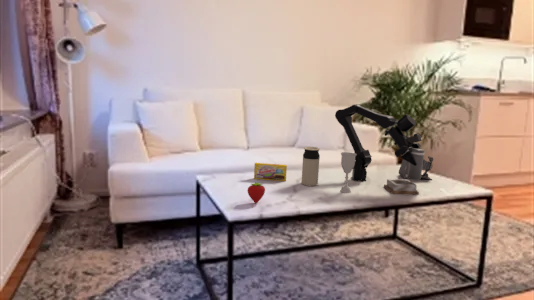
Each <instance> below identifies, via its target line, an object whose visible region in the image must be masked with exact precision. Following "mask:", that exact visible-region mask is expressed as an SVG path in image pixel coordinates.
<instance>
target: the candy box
mask: <svg viewBox="0 0 534 300" xmlns="http://www.w3.org/2000/svg"><path fill="white" fill-rule="evenodd" d="M287 169H288V165H287V164H280V163H278V164H277V163H264V162H254V172H253V174H254V175H253V180H263V181H265V180H267V181H277V182H278V181H279V182H286V181H287V171H288V170H287Z"/></svg>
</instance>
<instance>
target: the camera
mask: <svg viewBox="0 0 534 300" xmlns="http://www.w3.org/2000/svg"><path fill="white" fill-rule="evenodd" d="M414 143H416V142H414ZM427 159H428V161H427V160H426V159H423V166H422V171H425V172H423V174H421V178H423V179H426V180H430V181H433V179H432V178H431V177H430V176H429V174H428V172H429V171H431V170H432V169H433V165H434V164H433V162H434V157H432V156H429V155H428V156H427ZM408 170H409V162H408V161H406V160H404V159H402V161H401V164H400V167H399V170H398V175H400V176H401V178H402V179H403V180H409V178H407V177H408Z"/></svg>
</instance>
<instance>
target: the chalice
mask: <svg viewBox="0 0 534 300" xmlns="http://www.w3.org/2000/svg"><path fill="white" fill-rule="evenodd" d="M340 155H341V162H340V165H341V169H342V170H343V173H344V174H345V177H344V178H345V180H344V182H345V183H344V185H343V186H342V187H341V189H340V191H339V192H341V193H344V194H351V193H352V190H351V187H350V186H349V185H348V183H349V174H350V173H351V172H353V167H354V165H355V156H356V155H357V154H356V153H354V152H349V151H347V152H346V151H344V152H340Z"/></svg>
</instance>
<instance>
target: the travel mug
mask: <svg viewBox="0 0 534 300" xmlns="http://www.w3.org/2000/svg"><path fill="white" fill-rule="evenodd" d="M303 149H304V152H303V155H302V169H301V184H302V185H303V186H306V187H307V186H308V187H315V186H317V185H319V169H320V154H319V151H320V148H319V147H317V146H305V147H304V148H303Z"/></svg>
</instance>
